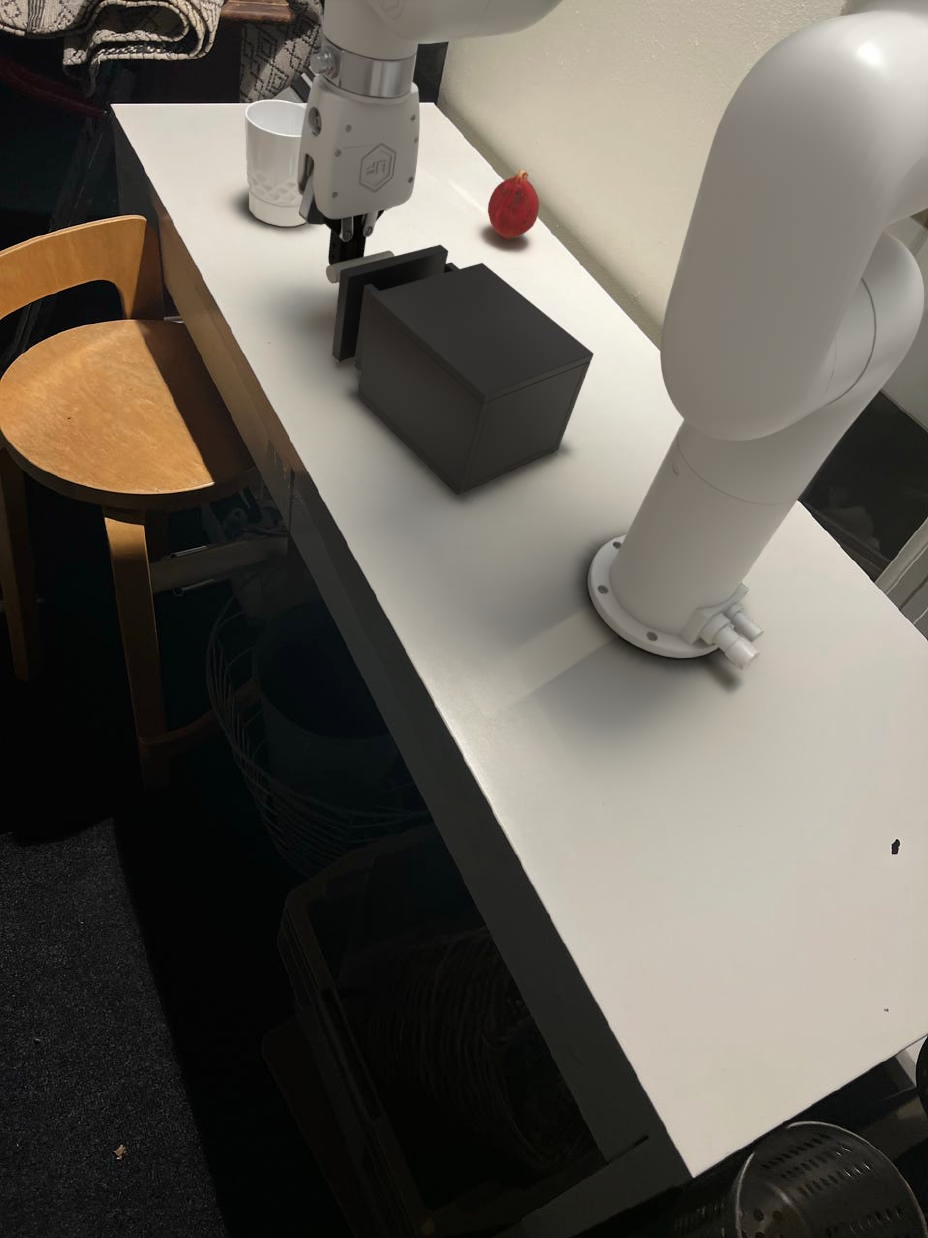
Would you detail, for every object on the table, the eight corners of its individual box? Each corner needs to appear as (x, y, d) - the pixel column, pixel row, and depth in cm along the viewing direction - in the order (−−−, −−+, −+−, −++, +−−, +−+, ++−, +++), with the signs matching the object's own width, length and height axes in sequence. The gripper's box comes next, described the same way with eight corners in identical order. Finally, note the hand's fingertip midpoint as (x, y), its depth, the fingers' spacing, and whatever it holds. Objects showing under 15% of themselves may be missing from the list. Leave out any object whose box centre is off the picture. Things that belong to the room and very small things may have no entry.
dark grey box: (356, 395, 83) (370, 292, 75) (459, 359, 89) (482, 262, 81) (457, 494, 77) (484, 395, 69) (558, 448, 84) (594, 353, 76)
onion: (525, 257, 104) (543, 190, 98) (477, 242, 104) (493, 174, 98) (532, 234, 108) (551, 167, 102) (486, 220, 108) (502, 152, 102)
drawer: (301, 326, 86) (308, 240, 79) (395, 299, 92) (408, 217, 85) (420, 441, 79) (438, 358, 73) (513, 404, 85) (538, 324, 79)
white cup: (328, 225, 100) (337, 132, 92) (263, 234, 96) (266, 138, 89) (295, 189, 103) (300, 96, 96) (231, 196, 100) (231, 101, 92)
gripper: (317, 95, 68) (301, 310, 82) (465, 76, 75) (428, 275, 90) (262, 51, 70) (255, 266, 84) (410, 37, 78) (382, 236, 92)
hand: (344, 270), depth 87 cm, fingers closed
